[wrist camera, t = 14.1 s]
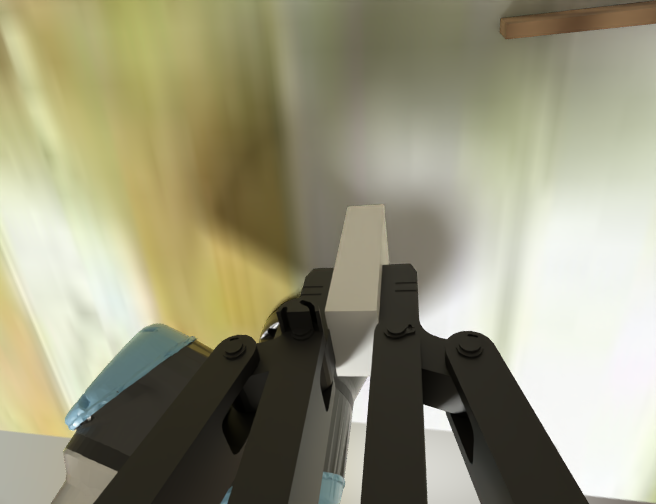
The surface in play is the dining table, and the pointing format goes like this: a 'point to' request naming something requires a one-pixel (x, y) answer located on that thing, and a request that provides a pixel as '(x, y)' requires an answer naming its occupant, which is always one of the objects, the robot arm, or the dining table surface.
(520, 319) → the dining table surface
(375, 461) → the robot arm
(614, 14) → the corral
